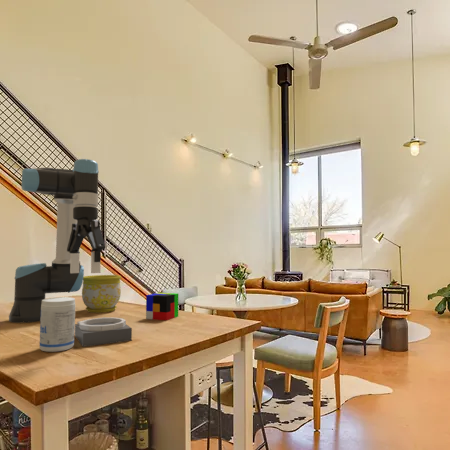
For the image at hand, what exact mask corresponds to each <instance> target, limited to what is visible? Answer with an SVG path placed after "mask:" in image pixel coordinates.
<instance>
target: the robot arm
mask: <svg viewBox="0 0 450 450" xmlns="http://www.w3.org/2000/svg"><path fill="white" fill-rule="evenodd" d="M21 190H22V191H25V192H30V193H36V194H40V195H45V196H46V195H47V196H48V195H49V196H53V201H55V202H56V204H57V208H56V209H57V211H56V214H57V215H56V239H55V240H56V243H55V245H56V246H55V259H53V260H52V261H51V266H50V265H48V266H47V263H46V262H44V263H43V262H42V263H41V262H40V263H33V264H32V263H31V264H26V265H21V266H19V267H17V268H16V269H15V275H14V299H13V300H14V301H13V304H12V307H11V310H10V313H9V314H8V322H10V323H13V324H21V323H22V324H23V323H36V322H37V323H38V322H40V318H41V304H42V300H43V299H46V294H57V293H58V294H60V293H74V292H78V291H79V290H81V287H83V277H84V276H85V275H84V274H85V267H84V265H82V264H81V261H80V249H81V246H82V244H83V241H84V238H87V240H88V242H89V245H90V246H91V249H90V252H91V253H90V254H91V255H90V274H100V273H101V262H102V261H101V259H102V258H101V257H102V256H101V252H103V250H105V249H106V245H105V244H106V243H105V241H104V236H103V233H102V229H101V222H100V220H98V218H99V216H98V215H99V211H98V209H99V208H98V207H99V164H98V162H97V161H95V160H93V159H88V158H87V159H86V158H81V159H77V160H74V164H73V169H67V168H65V169H64V168H55V167H54V168H53V167H37V168H23V169H22V170H21Z"/></svg>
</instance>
